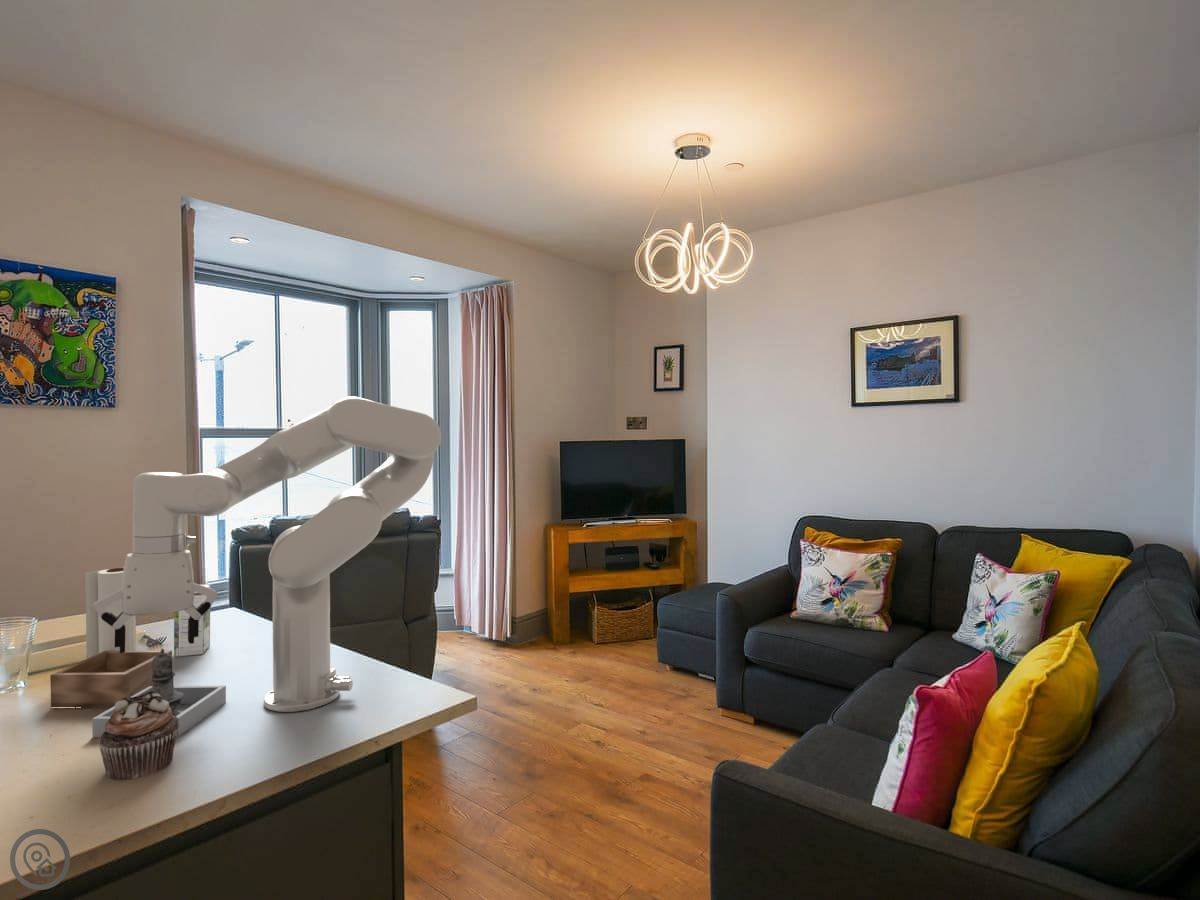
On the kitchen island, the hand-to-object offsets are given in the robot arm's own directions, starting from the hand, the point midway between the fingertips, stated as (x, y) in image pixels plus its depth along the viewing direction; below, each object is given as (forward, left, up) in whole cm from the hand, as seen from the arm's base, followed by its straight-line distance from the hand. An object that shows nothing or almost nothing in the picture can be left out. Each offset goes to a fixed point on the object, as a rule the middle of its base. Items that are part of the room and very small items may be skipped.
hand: (157, 646), depth 111 cm
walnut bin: (+15, -11, -13) cm, 23 cm away
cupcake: (-8, +16, -13) cm, 22 cm away
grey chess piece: (-1, 0, -13) cm, 13 cm away
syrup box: (+15, -35, -13) cm, 41 cm away
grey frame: (-1, 0, -13) cm, 13 cm away
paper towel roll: (+22, -21, -13) cm, 33 cm away
